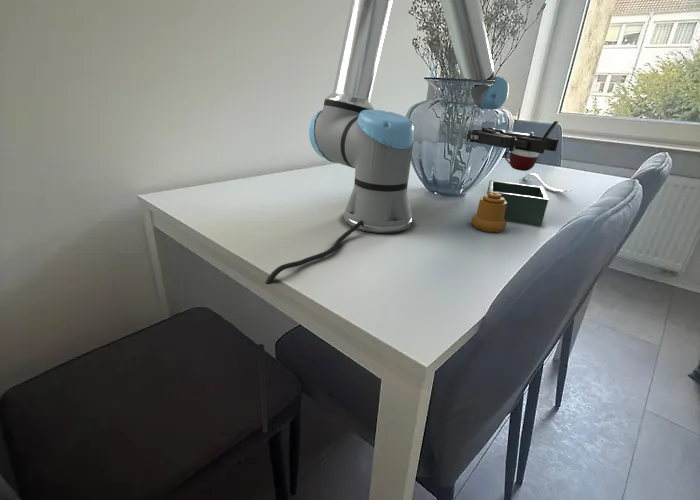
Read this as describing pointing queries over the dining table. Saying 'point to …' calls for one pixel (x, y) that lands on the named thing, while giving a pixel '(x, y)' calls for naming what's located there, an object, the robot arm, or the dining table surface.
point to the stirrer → (542, 182)
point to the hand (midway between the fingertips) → (550, 146)
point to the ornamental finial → (490, 213)
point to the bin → (521, 202)
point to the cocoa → (526, 155)
